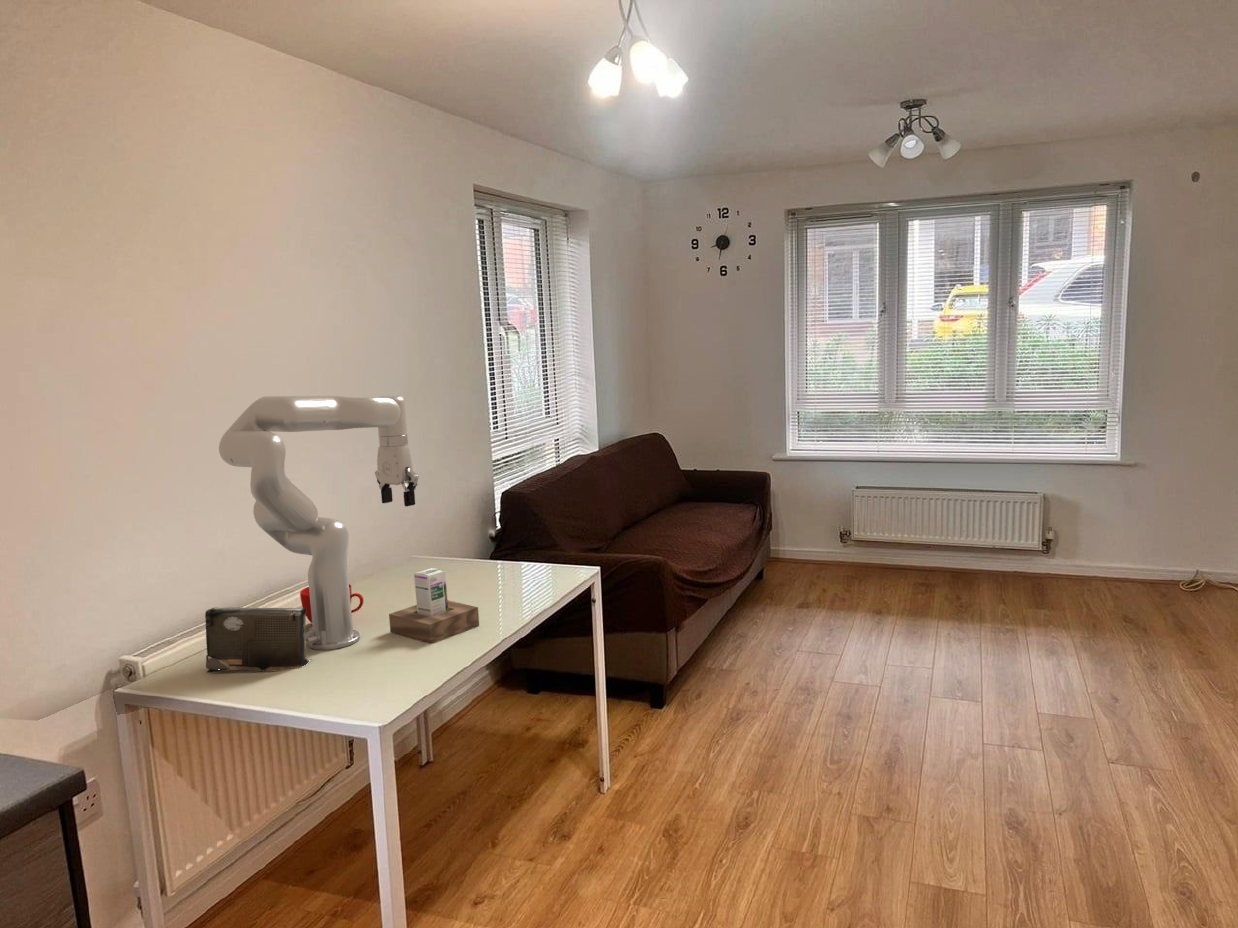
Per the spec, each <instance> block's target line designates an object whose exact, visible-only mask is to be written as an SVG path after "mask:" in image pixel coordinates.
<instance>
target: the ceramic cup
mask: <svg viewBox="0 0 1238 928" xmlns="http://www.w3.org/2000/svg"><path fill="white" fill-rule="evenodd" d="M349 591H350V602H351V603H352V598H353V597H357V598H358V599H359V604H358V605H357V607H356V608H353V609H351V614H353V613H355V612H358V611H359V610H360V609H361V608H362V606H363V604H364V597H363V596H362V594H360V593H357V592H354V593H352V584H351V583H349ZM299 594H300V595H299V597H300V602H301V608H306V619H307V620H308V621H309V623H311V624H312V615H311V605H310V594H309V586H306V587H304V588H302V589H301V590H300V593H299Z"/></svg>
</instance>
